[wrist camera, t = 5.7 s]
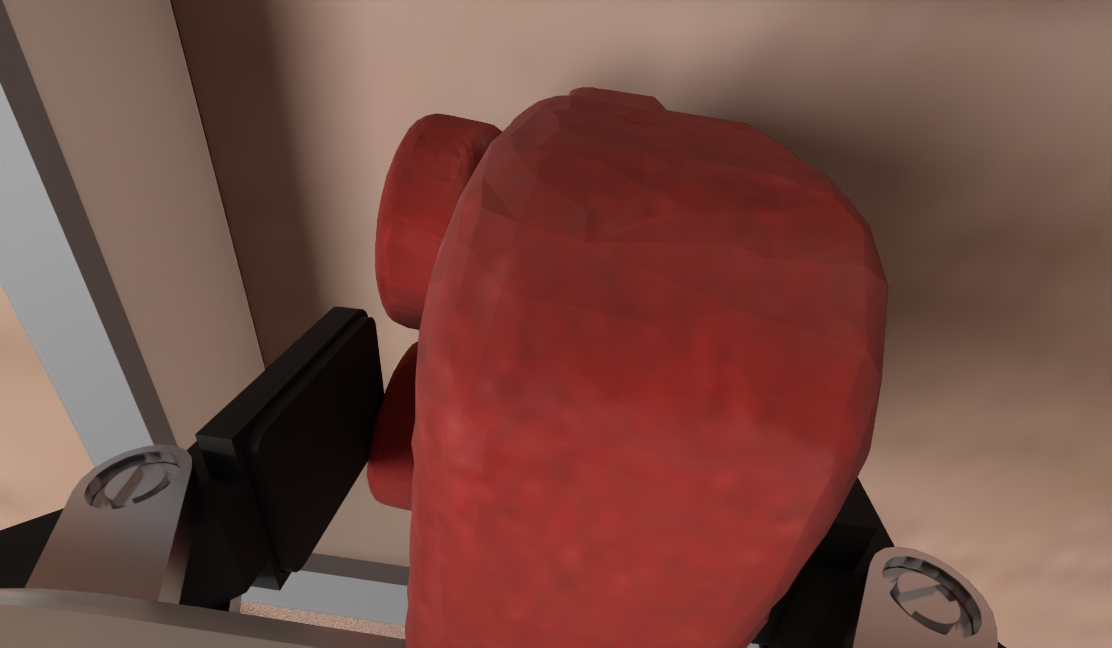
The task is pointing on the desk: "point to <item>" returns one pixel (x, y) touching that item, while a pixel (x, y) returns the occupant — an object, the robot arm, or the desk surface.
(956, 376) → the desk surface
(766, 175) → the toy fire truck
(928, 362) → the desk surface
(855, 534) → the robot arm
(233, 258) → the white u-shaped wall
